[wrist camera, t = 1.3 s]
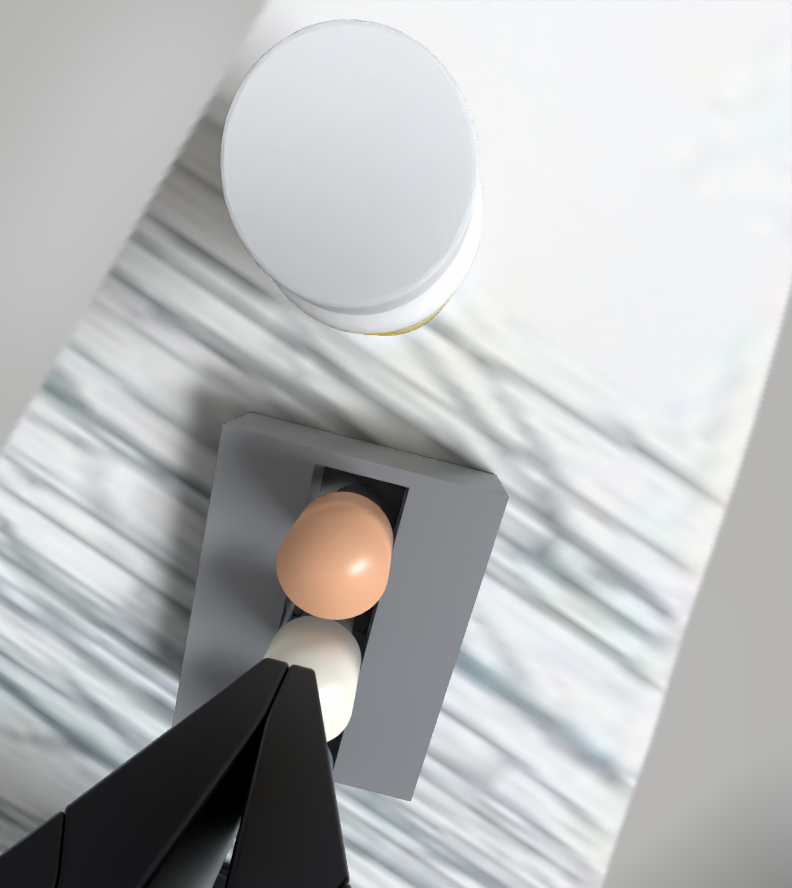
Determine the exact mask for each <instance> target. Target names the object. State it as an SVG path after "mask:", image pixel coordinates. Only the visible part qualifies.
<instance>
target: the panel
mask: <svg viewBox="0 0 792 888" xmlns="http://www.w3.org/2000/svg"><path fill="white" fill-rule="evenodd" d="M325 466H326V467H330V468H334V469H338V470H342V471H346V472H350V473H353V474H357V475H361V476H365V477H369V478H373V479H377V480H381V481H385V482H389V483H393V484H396V485H400V486H404V487H406V488H405V492H404V496H403V499H402V503H401V507H400V511H399V514H398V518H397V522H396V526H395V529H394V533H393V548H392V556H391V563H390V570H389V577H388V582H387V585H386V588H385V590H384V592H383V594H382V596H381V597H380V599H379V600H378V601H377V602H376V603H375V605H374V608H373V612H372V615H371V619H370V623H369V626H368V630H367V634H364V633H360V632H356V631H352V635H353V636H354V638H355V639H356V641H357V643H358V645H359V648H360V652H361V667H360V672H359V677H358V683H357V688H356V693H355V699H354V704H353V709H352V715H351V718H350V721H349V722H348V724H347V726H346V727H345V729H344V730H343V731H342V732H341V733H340V734H339V735H338V736H336V737H335V738H334V739H332V740H330V741H328V742H327V746H328V748H329V750H330V752H331V754H332V758H333V770H332V776H333V782H336V783H340V784H344V785H348V786H352V787H356V788H360V789H364V790H368V791H372V792H376V793H380V794H384V795H387V796H391V797H395V798H399V799H403V800H407V801H411V799H412V796H413V793H414V789H415V786H416V783H417V780H418V777H419V774H420V771H421V768H422V765H423V762H424V759H425V755H426V752H427V749H428V746H429V743H430V740H431V737H432V734H433V731H434V728H435V724H436V721H437V718H438V715H439V712H440V709H441V706H442V703H443V700H444V697H445V693H446V690H447V687H448V684H449V681H450V678H451V675H452V672H453V669H454V666H455V663H456V659H457V656H458V653H459V650H460V647H461V644H462V641H463V638H464V635H465V632H466V628H467V625H468V622H469V619H470V616H471V613H472V610H473V607H474V604H475V601H476V598H477V594H478V591H479V588H480V585H481V582H482V579H483V576H484V573H485V570H486V567H487V563H488V560H489V557H490V554H491V551H492V548H493V545H494V542H495V539H496V536H497V533H498V529H499V526H500V523H501V520H502V517H503V514H504V511H505V508H506V505H507V502H508V498H509V496H508V495H507V493H506V491H505V489H504V488H503V486H502V484H501V482H500V481H499V479H498V477H497V475H494V474H490V473H486V472H483V471H479V470H475V469H471V468H467V467H463V466H459V465H455V464H451V463H447V462H443V461H440V460H436V459H432V458H428V457H424V456H420V455H416V454H412V453H408V452H404V451H401V450H397V449H393V448H389V447H385V446H381V445H377V444H373V443H369V442H365V441H362V440H358V439H354V438H350V437H346V436H342V435H338V434H334V433H330V432H326V431H323V430H319V429H315V428H311V427H307V426H303V425H299V424H295V423H291V422H287V421H284V420H280V419H276V418H272V417H268V416H264V415H260V414H256V413H252V412H250V413H248V414H245V415H243V416H240V417H238V418H236V419H233V420H231V421H228V422H226V423H223V425H222V431H221V437H220V443H219V449H218V455H217V461H216V467H215V473H214V479H213V485H212V491H211V497H210V503H209V509H208V515H207V521H206V527H205V533H204V539H203V545H202V551H201V557H200V563H199V569H198V575H197V581H196V587H195V593H194V598H193V604H192V610H191V616H190V622H189V628H188V634H187V640H186V646H185V652H184V658H183V664H182V670H181V676H180V682H179V688H178V694H177V700H176V706H175V712H174V718H173V724H172V727H173V726H175V725H176V724H177V723H179V722H180V721H181V720H183V719H184V718H185V717H187V716H188V715H189V714H191V713H192V712H193V711H195V710H196V709H197V708H199V707H200V706H201V705H203V704H204V703H205V702H207V701H208V700H209V699H211V698H212V697H213V696H215V695H216V694H217V693H219V692H220V691H221V690H223V689H224V688H225V687H227V686H228V685H229V684H231V683H232V682H233V681H235V680H236V679H237V678H239V677H240V676H241V675H243V674H244V673H245V672H247V671H248V670H249V669H251V668H252V667H253V666H255V665H256V664H257V663H259V662H260V661H261V660H263V658H264V656H265V654H266V652H267V650H268V648H269V646H270V644H271V642H272V640H273V638H274V636H275V634H276V633H277V631H278V630H279V629H280V628H281V627H282V626H283V625H285V624H286V623H288V622H289V621H291V620H293V619H296V618H299V617H297V616H294V615H292V614H293V609H294V605H295V604H294V603H293V602H292V601H291V600H290V599H289V598H288V596H287V595H286V594H285V592H284V590H283V589H282V587H281V584H280V582H279V579H278V575H277V569H276V560H277V554H278V550H279V547H280V545H281V543H282V541H283V540H284V538H285V536H286V535H287V534H288V532H289V531H290V529H291V528H292V526H293V525H294V524H295V522H296V521H297V519H298V518H299V516H300V515H301V513H302V512H303V511H304V509H305V508H306V507H307V506H308V505H309V504H310V503H311V502H312V501H314V500H315V499H317V498H318V497H319V493H320V489H321V484H322V480H323V475H324V471H325Z"/></svg>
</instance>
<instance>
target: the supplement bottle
mask: <svg viewBox="0 0 792 888" xmlns="http://www.w3.org/2000/svg"><path fill="white" fill-rule="evenodd" d="M220 170H221V181H222V188H223V195H224V199H225V203H226V206H227V209H228V213H229V215H230V218H231V221H232V223H233V226H234V228H235V231H236V232H237V234H238V236H239V238H240V240H241V241H242V243H243V245H244V246H245V248H246V250H247V251H248V252H249V254H250V255H251V257H252V258H253V259H254V260H255V262H256V263H257V264H258V265H259V266H260V267H261V268H262V269H263V270H264V271H265V272H266V273H267V274H268V275H269V276H270V277H271V278H272V279H273V281H274V282H275V284H276V285H277V286H278V287H279V289H280V290H281V291H282V292H283V293H284V294H285V295H286V296H287V297H288V299H289V300H290V301H292V302H293V303H294V304H295V305H296V306H297V307H298V308H300V309H301V310H302V311H303V312H305V313H306V314H308V315H309V316H311V317H312V318H314V319H316V320H317V321H319V322H321V323H323V324H325V325H327V326H330V327H333V328H335V329H338V330H341V331H345V332H351V333H359V334H365V335H379V336H389V335H399V334H403V333H407V332H410V331H413V330H415V329H417V328H419V327H421V326H423V325H424V324H426V323H427V322H429V321H430V320H431V319H432V318H434V317H435V316H436V315H437V314H438V313H439V312H440V311H441V309H442V308H443V307H444V306H445V304H446V303H447V302H448V301H449V300H450V298H451V297H452V296H453V294H454V293H455V292H456V291H457V289H458V288H459V287H460V285H461V284H462V282H463V280H464V279H465V277H466V275H467V274H468V272H469V270H470V268H471V266H472V263H473V261H474V258H475V256H476V253H477V250H478V246H479V243H480V239H481V234H482V226H483V215H484V203H483V189H482V182H481V177H480V172H479V148H478V140H477V135H476V131H475V126H474V123H473V120H472V117H471V114H470V110H469V108H468V105H467V102H466V100H465V98H464V96H463V94H462V92H461V90H460V88H459V87H458V85H457V83H456V82H455V80H454V79H453V77H452V76H451V75H450V73H449V72H448V71H447V69H446V68H445V66H444V65H443V64H442V63H441V62H440V61H439V60H438V59H437V58H436V56H435V55H433V54H432V53H431V52H430V51H429V50H428V49H427V48H425V47H424V46H423V45H422V44H420V43H419V42H417V41H416V40H414V39H413V38H411V37H409V36H408V35H406V34H404V33H402V32H401V31H398V30H396V29H394V28H391V27H389V26H386V25H382V24H378V23H375V22H367V21H361V20H333V21H327V22H322V23H318V24H314V25H311V26H308V27H306V28H303V29H301V30H299V31H297V32H295V33H293V34H291V35H290V36H288V37H286V38H285V39H283V40H282V41H280V42H279V43H277V44H276V45H275V46H273V47H272V48H271V49H270V50H269V51H268V52H266V53H265V54H264V55H263V56H262V57H261V58H260V59H259V61H258V62H257V63H256V64H255V65H254V66H253V67H252V68H251V70H250V71H249V72H248V74H247V75H246V77H245V78H244V80H243V82H242V84H241V85H240V87H239V88H238V90H237V92H236V94H235V96H234V98H233V101H232V103H231V106H230V109H229V111H228V114H227V117H226V121H225V125H224V130H223V137H222V143H221V155H220Z"/></svg>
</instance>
